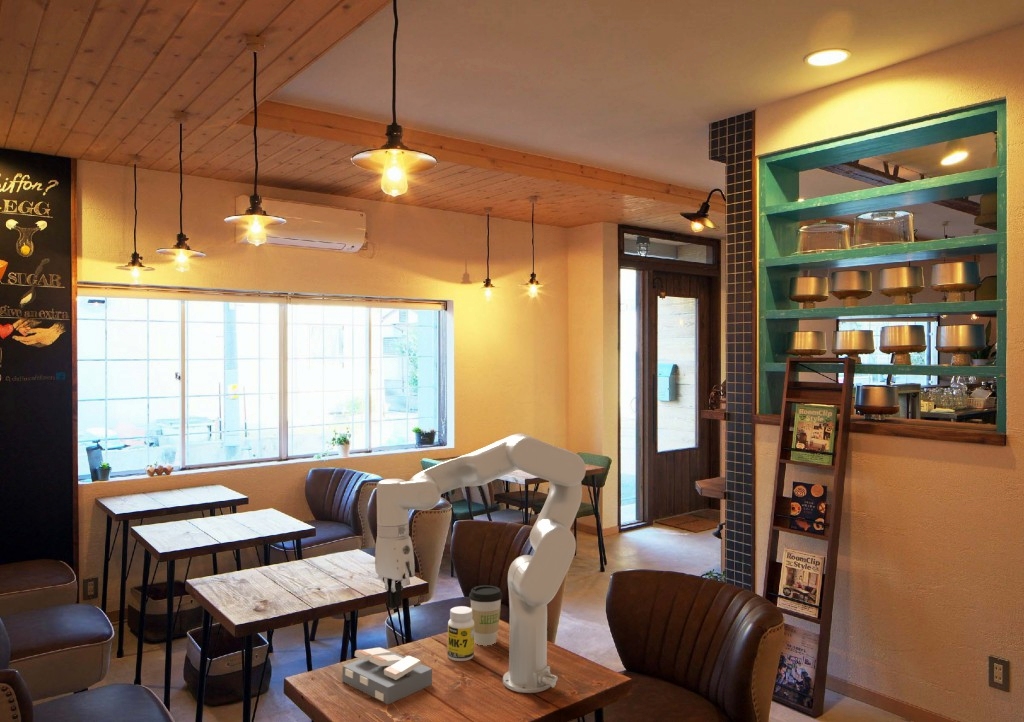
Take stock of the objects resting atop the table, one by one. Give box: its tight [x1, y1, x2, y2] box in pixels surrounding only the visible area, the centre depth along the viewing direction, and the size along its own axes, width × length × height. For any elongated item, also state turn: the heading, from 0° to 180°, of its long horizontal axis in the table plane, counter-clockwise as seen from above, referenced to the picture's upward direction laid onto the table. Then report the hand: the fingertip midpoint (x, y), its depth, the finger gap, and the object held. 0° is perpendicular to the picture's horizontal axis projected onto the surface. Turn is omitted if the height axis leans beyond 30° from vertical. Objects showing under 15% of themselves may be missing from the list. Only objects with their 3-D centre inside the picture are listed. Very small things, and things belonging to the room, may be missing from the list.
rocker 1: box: [354, 646, 391, 661], centre depth 183 cm, size 4×8×1 cm, turn 139°
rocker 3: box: [384, 655, 422, 680], centre depth 175 cm, size 4×8×1 cm, turn 139°
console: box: [341, 649, 433, 705], centre depth 179 cm, size 18×14×5 cm
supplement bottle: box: [446, 605, 475, 662], centre depth 195 cm, size 7×7×13 cm
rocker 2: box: [370, 655, 403, 666], centre depth 179 cm, size 4×8×1 cm, turn 139°
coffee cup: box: [468, 584, 504, 647], centre depth 206 cm, size 10×10×15 cm
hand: (394, 606), depth 172 cm, fingers closed
